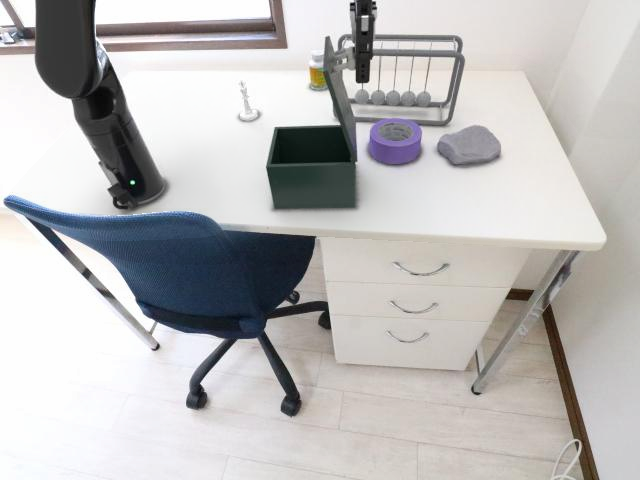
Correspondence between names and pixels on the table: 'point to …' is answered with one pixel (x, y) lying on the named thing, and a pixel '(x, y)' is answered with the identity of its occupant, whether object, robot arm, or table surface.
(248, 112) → the chess piece
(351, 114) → the bin lid
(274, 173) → the waste bin
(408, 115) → the table surface
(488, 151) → the stone block
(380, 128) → the tape roll
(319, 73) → the supplement bottle
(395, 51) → the newton's cradle
